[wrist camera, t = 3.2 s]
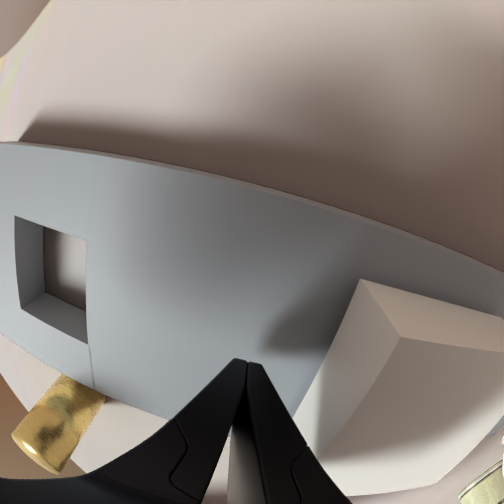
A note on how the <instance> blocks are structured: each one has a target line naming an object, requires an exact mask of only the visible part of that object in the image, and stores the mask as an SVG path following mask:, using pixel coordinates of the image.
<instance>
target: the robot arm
mask: <svg viewBox="0 0 504 504" xmlns="http://www.w3.org/2000/svg"><path fill="white" fill-rule="evenodd" d="M231 426H232V427H231ZM230 429H231V440H230V456H229V473H228V490H227V504H352V503H351V501H350V500H349V499H348V498H347V497H346V496H345V495H344V493H343V492H342V491H341V490H340V489H339V488H338V487H337V485H336V484H335V483H334V482H333V480H332V479H331V478H330V477H329V475H328V474H327V473H326V471H325V470H324V469H323V467H322V466H321V464H320V463H319V461H318V460H317V458H316V457H315V455H314V454H313V452H312V450H311V449H310V447H309V446H307V442H306V441H305V439H304V437H303V436H302V434H301V432H300V431H299V429H298V427H297V425H296V424H295V422H294V420H293V419H292V417H291V415H290V413H289V412H288V410H287V408H286V407H285V405H284V403H283V401H282V400H281V398H280V396H279V394H278V392H277V391H276V389H275V387H274V385H273V384H272V382H271V380H270V378H269V376H268V375H267V373H266V371H265V369H264V367H263V365H262V364H260V363H256V362H251V361H249V362H248V363H247V361H246V360H243V359H239V358H233V359H232V360H231V361H230V362H229V363H228V364H227V365H226V366H225V367H224V368H223V369H222V370H221V371H220V372H219V373H218V374H217V375H216V376H215V377H214V378H213V379H212V380H211V381H210V382H209V383H208V384H207V385H206V386H205V387H204V388H203V389H202V390H201V391H200V392H199V393H198V394H197V395H196V396H195V397H194V398H193V399H192V400H191V401H190V402H189V403H188V404H187V405H186V406H185V407H183V408H182V409H181V410H180V411H179V412H178V413H177V414H176V415H175V416H174V417H173V418H172V419H170V420H169V421H168V422H167V423H166V424H165V425H164V426H163V427H162V428H160V429H159V430H158V431H157V432H156V433H154V434H153V435H152V436H151V437H149V438H148V439H146V440H145V441H143V442H142V443H140V444H139V445H137V446H136V447H134V448H133V449H131V450H129V451H128V452H126V453H125V454H123V455H121V456H119V457H118V458H116V459H114V460H113V461H111V462H109V463H107V464H106V465H104V466H102V467H100V468H98V469H96V470H94V471H92V472H90V473H87V474H84V475H81V476H76V477H66V478H52V479H8V478H1V477H0V504H201V503H202V500H203V498H204V495H205V493H206V491H207V488H208V486H209V483H210V481H211V478H212V476H213V473H214V471H215V468H216V466H217V463H218V460H219V458H220V455H221V453H222V450H223V448H224V445H225V442H226V440H227V437H228V434H229V432H230Z"/></svg>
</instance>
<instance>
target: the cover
mask: <svg viewBox="0 0 504 504" xmlns="http://www.w3.org/2000/svg"><path fill="white" fill-rule="evenodd" d="M503 415H504V320H503V319H502V318H501V317H498V316H494V315H491V314H487V313H483V312H480V311H476V310H473V309H469V308H465V307H462V306H458V305H455V304H451V303H447V302H444V301H440V300H436V299H433V298H429V297H426V296H422V295H418V294H415V293H411V292H407V291H404V290H400V289H397V288H393V287H389V286H386V285H382V284H378V283H375V282H371V281H367V280H364V279H360V280H359V282H358V285H357V287H356V290H355V292H354V295H353V297H352V300H351V302H350V304H349V307H348V309H347V311H346V314H345V316H344V318H343V320H342V323H341V325H340V327H339V329H338V331H337V334H336V336H335V338H334V340H333V342H332V344H331V346H330V348H329V351H328V353H327V355H326V357H325V359H324V361H323V363H322V365H321V367H320V369H319V371H318V373H317V374H316V376H315V378H314V380H313V382H312V384H311V386H310V388H309V390H308V391H307V393H306V395H305V397H304V399H303V401H302V402H301V404H300V406H299V408H298V409H297V411H296V413H295V415H294V416H293V418H292V419H293V420H294V422H295V424H296V425H297V427H298V429H299V431H300V432H301V434H302V436H303V437H304V439H305V441H306V442H307V446H309V447H310V449H311V450H312V452H313V454H314V455H315V457H316V458H317V460H318V461H319V463H320V464H321V466H322V467H323V469H324V470H325V471H326V473H327V474H328V475H329V477H330V478H331V479H332V480H333V482H334V483H335V484H336V485H337V487H338V488H339V489H340V490H341V491H342V492H343V493H344V495H345V496H358V495H370V494H380V493H388V492H395V491H402V490H408V489H413V488H418V487H423V486H428V485H432V484H435V483H437V482H438V481H439V480H440V479H441V478H443V477H444V476H445V475H446V474H447V473H448V472H450V471H451V470H452V469H453V468H454V467H455V466H456V465H457V464H458V463H459V462H461V461H462V460H463V459H464V458H465V457H466V456H467V455H468V454H469V453H470V452H471V451H472V450H473V449H474V448H475V447H476V446H477V445H478V444H479V443H480V442H481V440H482V439H483V438H484V437H485V436H486V435H487V434H488V433H489V432H490V431H491V429H492V428H493V427H494V426H495V425H496V424H497V422H498V421H499V420H500V419H501V418H502V416H503Z"/></svg>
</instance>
